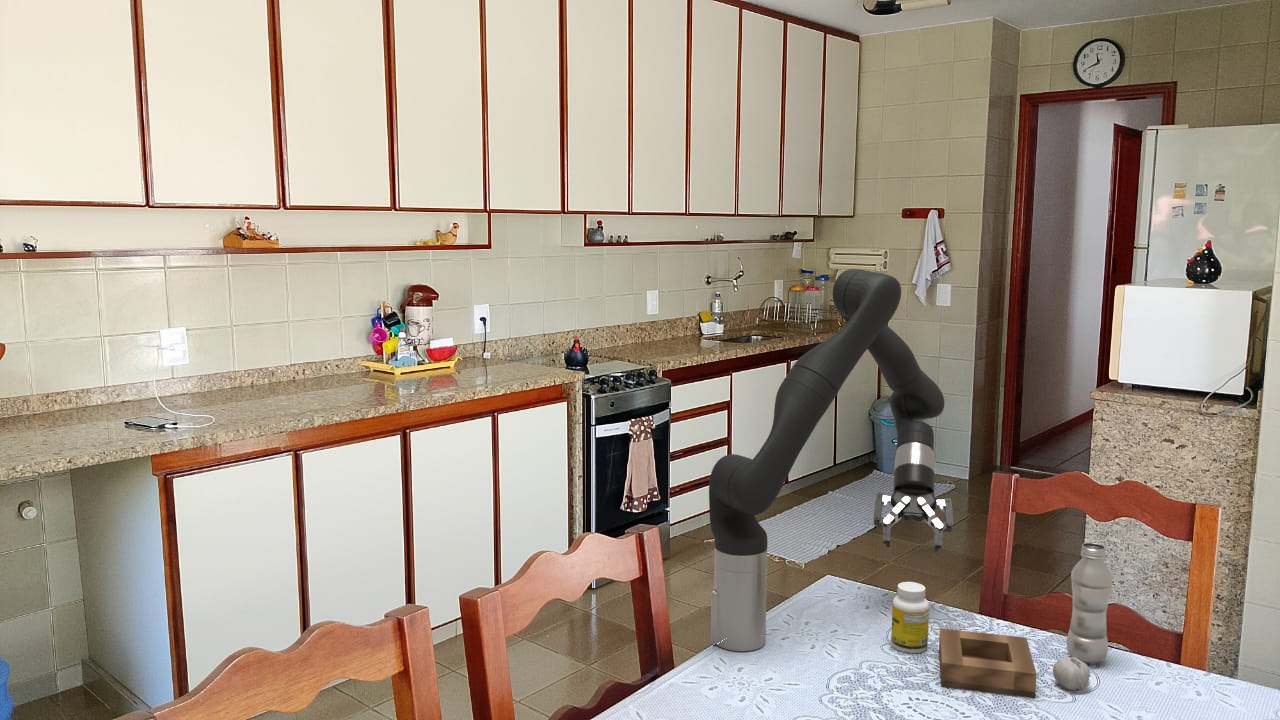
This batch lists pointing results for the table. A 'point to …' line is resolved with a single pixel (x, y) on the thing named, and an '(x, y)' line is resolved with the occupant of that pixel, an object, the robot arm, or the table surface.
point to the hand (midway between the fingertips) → (912, 547)
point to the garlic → (1071, 673)
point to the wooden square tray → (986, 663)
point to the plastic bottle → (1089, 605)
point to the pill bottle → (910, 618)
